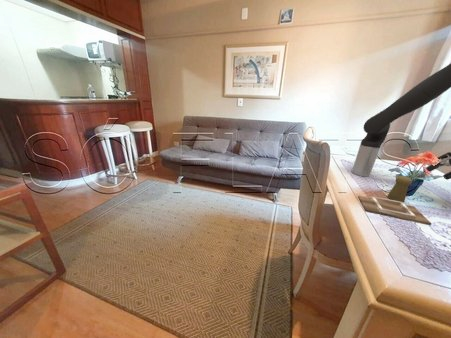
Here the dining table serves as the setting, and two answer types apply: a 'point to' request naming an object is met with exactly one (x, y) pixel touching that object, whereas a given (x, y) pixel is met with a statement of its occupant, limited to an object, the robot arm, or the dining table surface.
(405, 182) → the olive game pawn
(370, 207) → the board
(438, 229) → the dining table surface
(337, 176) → the dining table surface
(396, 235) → the dining table surface
